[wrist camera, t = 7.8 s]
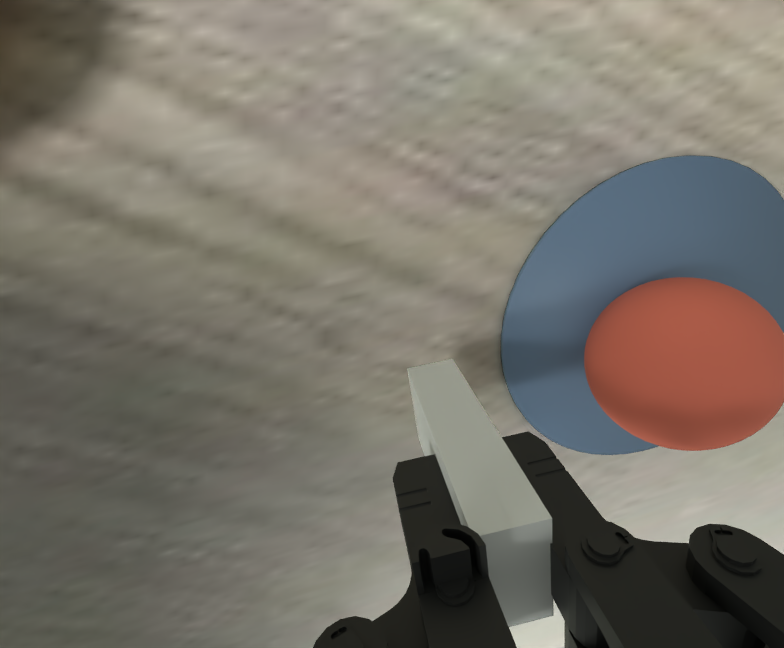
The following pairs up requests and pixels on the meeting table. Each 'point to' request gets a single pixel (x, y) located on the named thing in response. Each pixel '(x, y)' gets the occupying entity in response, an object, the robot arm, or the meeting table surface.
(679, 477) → the meeting table surface
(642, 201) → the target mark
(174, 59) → the meeting table surface
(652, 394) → the ball
